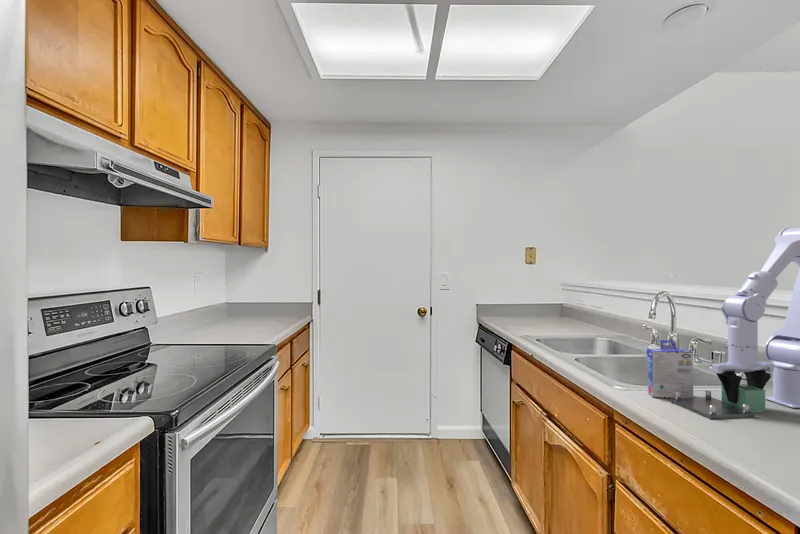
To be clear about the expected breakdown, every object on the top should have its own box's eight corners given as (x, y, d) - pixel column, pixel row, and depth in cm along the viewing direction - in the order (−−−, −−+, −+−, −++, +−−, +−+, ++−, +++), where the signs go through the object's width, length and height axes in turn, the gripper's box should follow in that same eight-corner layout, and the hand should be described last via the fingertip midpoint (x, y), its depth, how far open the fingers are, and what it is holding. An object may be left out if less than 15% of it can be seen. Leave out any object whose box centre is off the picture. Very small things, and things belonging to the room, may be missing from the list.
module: (740, 402, 114) (740, 381, 114) (765, 411, 107) (765, 388, 107) (721, 403, 113) (721, 381, 113) (745, 412, 106) (745, 389, 106)
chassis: (710, 399, 116) (710, 389, 116) (755, 417, 103) (755, 405, 103) (670, 401, 115) (670, 391, 115) (710, 419, 102) (710, 407, 102)
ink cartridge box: (686, 393, 122) (685, 339, 122) (695, 399, 117) (694, 343, 117) (646, 392, 124) (645, 339, 124) (653, 397, 119) (652, 342, 119)
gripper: (728, 349, 105) (728, 408, 105) (785, 347, 107) (786, 405, 107) (705, 344, 112) (705, 399, 112) (759, 342, 114) (759, 396, 114)
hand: (743, 401), depth 110 cm, fingers closed on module, 5 cm apart
